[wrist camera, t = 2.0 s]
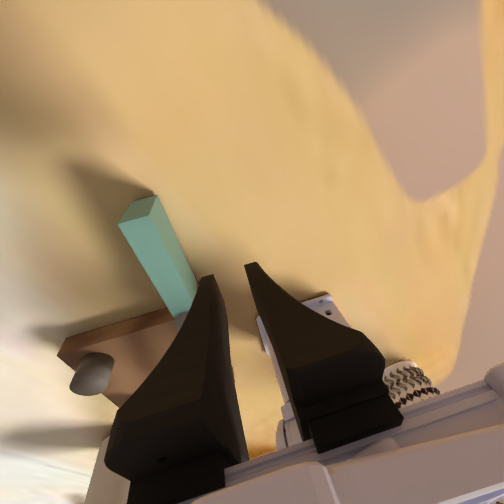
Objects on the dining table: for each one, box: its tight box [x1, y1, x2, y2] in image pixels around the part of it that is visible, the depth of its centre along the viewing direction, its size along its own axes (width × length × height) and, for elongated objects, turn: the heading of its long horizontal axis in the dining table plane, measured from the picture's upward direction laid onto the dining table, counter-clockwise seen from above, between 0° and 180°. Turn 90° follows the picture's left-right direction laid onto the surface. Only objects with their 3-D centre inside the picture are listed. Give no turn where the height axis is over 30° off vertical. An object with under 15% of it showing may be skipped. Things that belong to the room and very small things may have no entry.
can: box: [84, 435, 130, 504], centre depth 31 cm, size 8×8×12 cm
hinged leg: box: [117, 195, 199, 332], centre depth 19 cm, size 11×2×4 cm, turn 11°
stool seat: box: [57, 308, 235, 408], centre depth 26 cm, size 14×14×4 cm
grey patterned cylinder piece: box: [382, 360, 504, 504], centre depth 34 cm, size 9×9×25 cm
